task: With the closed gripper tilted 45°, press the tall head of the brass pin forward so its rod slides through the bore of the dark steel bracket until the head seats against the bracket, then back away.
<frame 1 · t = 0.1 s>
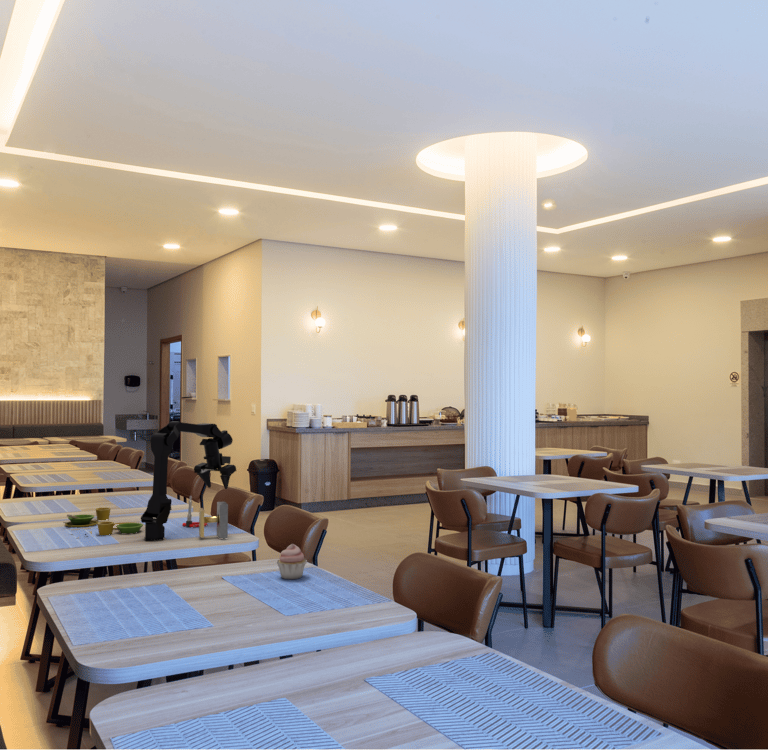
hand: (218, 488, 297), 15 cm above the table, tool pointing down, fingers open, 9 cm apart
tableware set: (103, 529, 290), on the table
tow hook: (196, 526, 296), on the table
brass pin: (213, 522, 271), point 6 cm above the table, slide at 0.0 cm
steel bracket: (214, 537, 271), on the table
cupcake: (291, 577, 213), on the table
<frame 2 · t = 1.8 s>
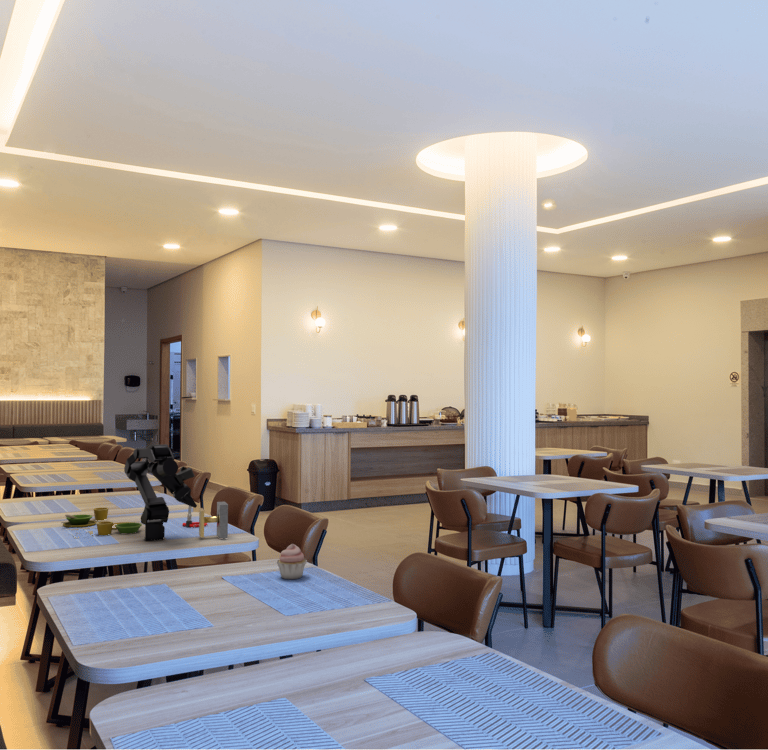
hand: (194, 504, 269), 13 cm above the table, tool tilted 45°, fingers open, 9 cm apart
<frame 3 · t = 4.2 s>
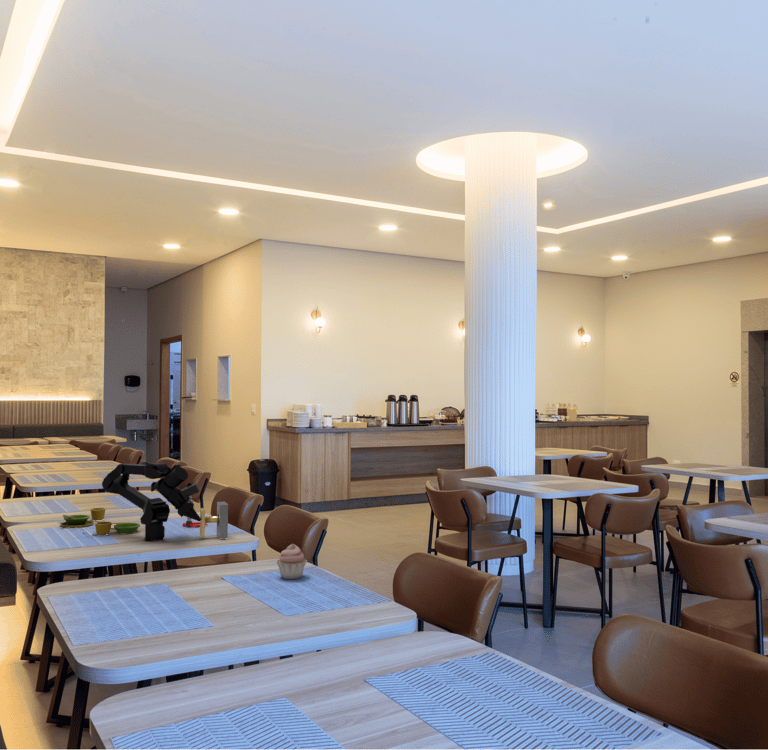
hand: (200, 520, 269), 7 cm above the table, tool tilted 45°, fingers closed
brass pin: (214, 522, 271), point 6 cm above the table, slide at 0.3 cm, touching gripper
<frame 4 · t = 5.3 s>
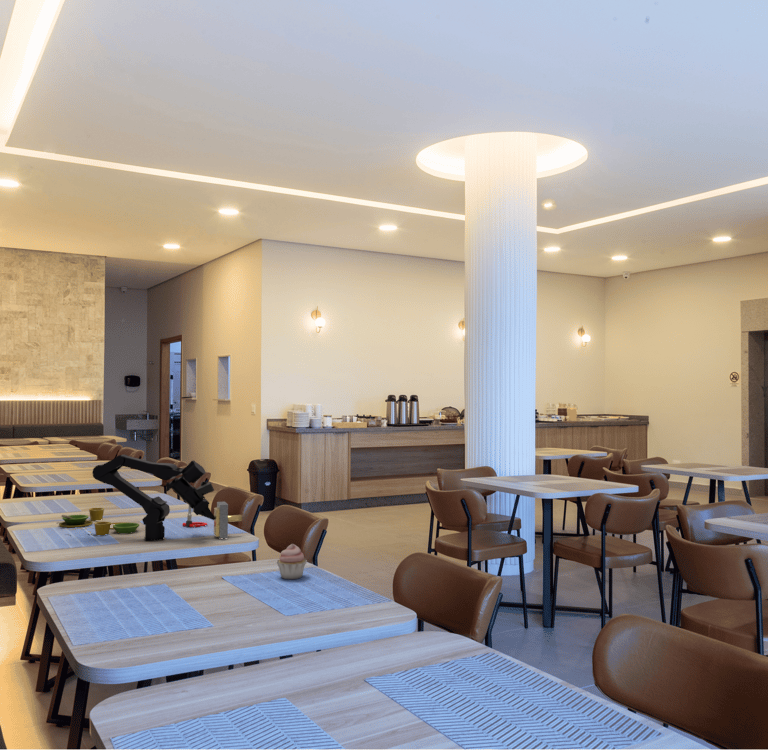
hand: (214, 519, 271), 7 cm above the table, tool tilted 45°, fingers closed, pressing on brass pin
brass pin: (228, 521, 273), point 6 cm above the table, slide at 5.6 cm, touching gripper, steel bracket
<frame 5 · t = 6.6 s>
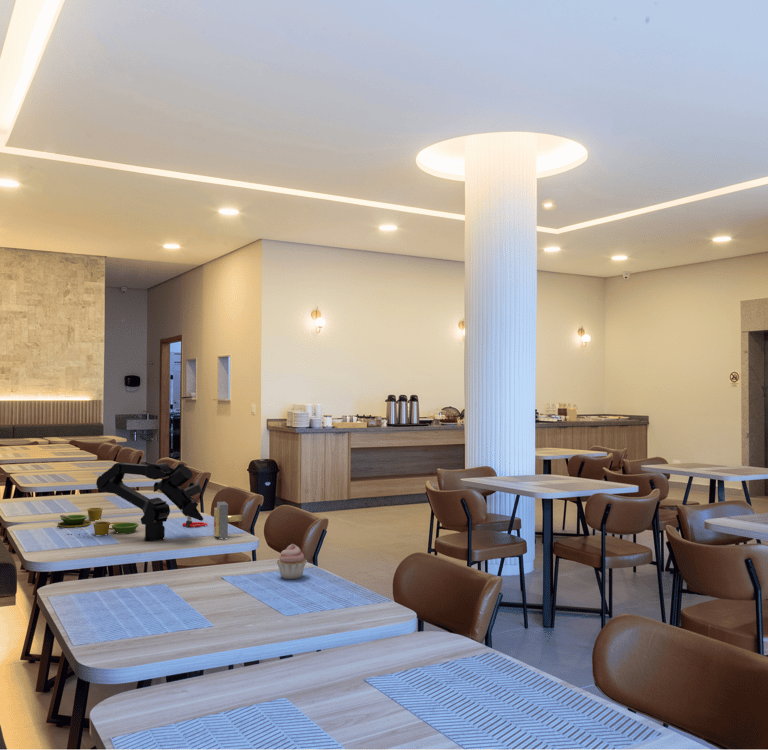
hand: (202, 519, 270), 7 cm above the table, tool tilted 45°, fingers closed
brass pin: (228, 521, 273), point 6 cm above the table, slide at 5.6 cm, touching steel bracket
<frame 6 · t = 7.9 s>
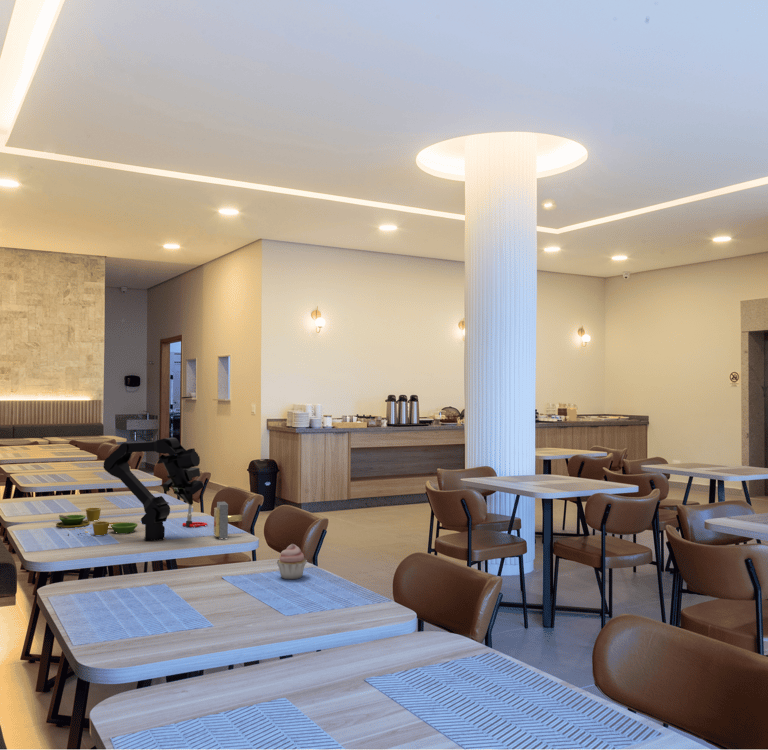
hand: (191, 504, 272), 13 cm above the table, tool tilted 30°, fingers closed
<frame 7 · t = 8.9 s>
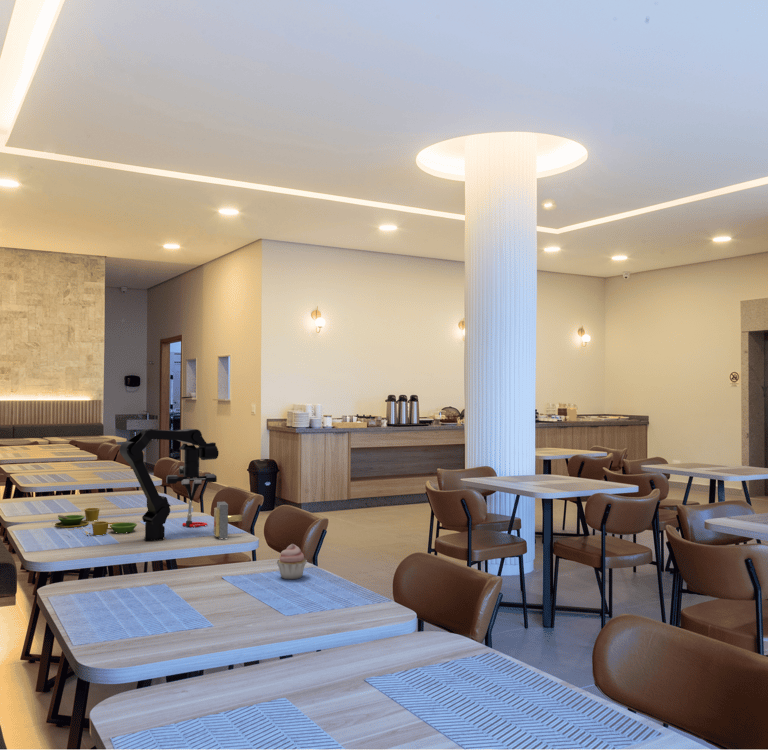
hand: (191, 500, 278), 13 cm above the table, tool pointing down, fingers closed
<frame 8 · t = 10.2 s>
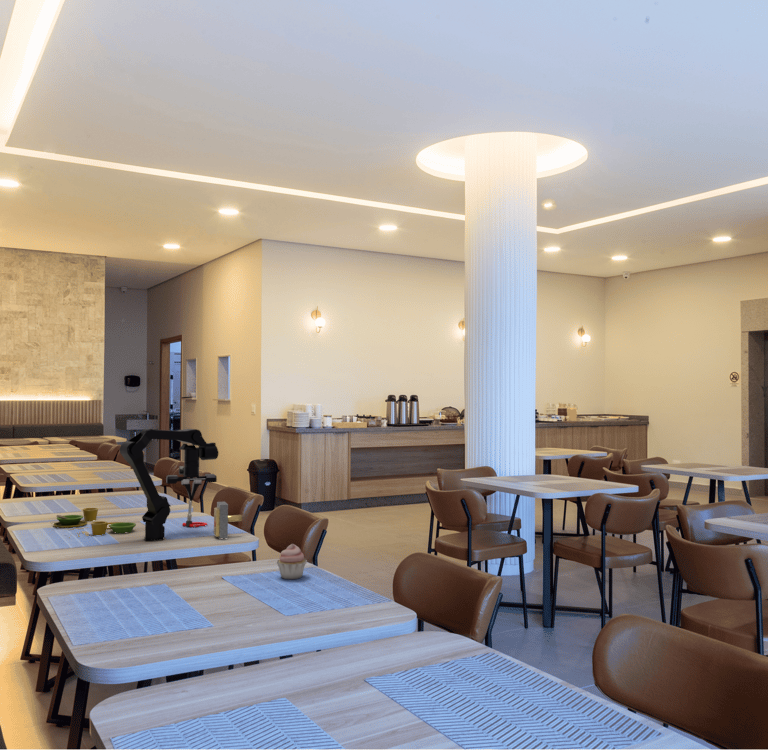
hand: (191, 500, 278), 13 cm above the table, tool pointing down, fingers closed
at the end: brass pin slide at 5.6 cm; tow hook moved 0.4 cm from its start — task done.
